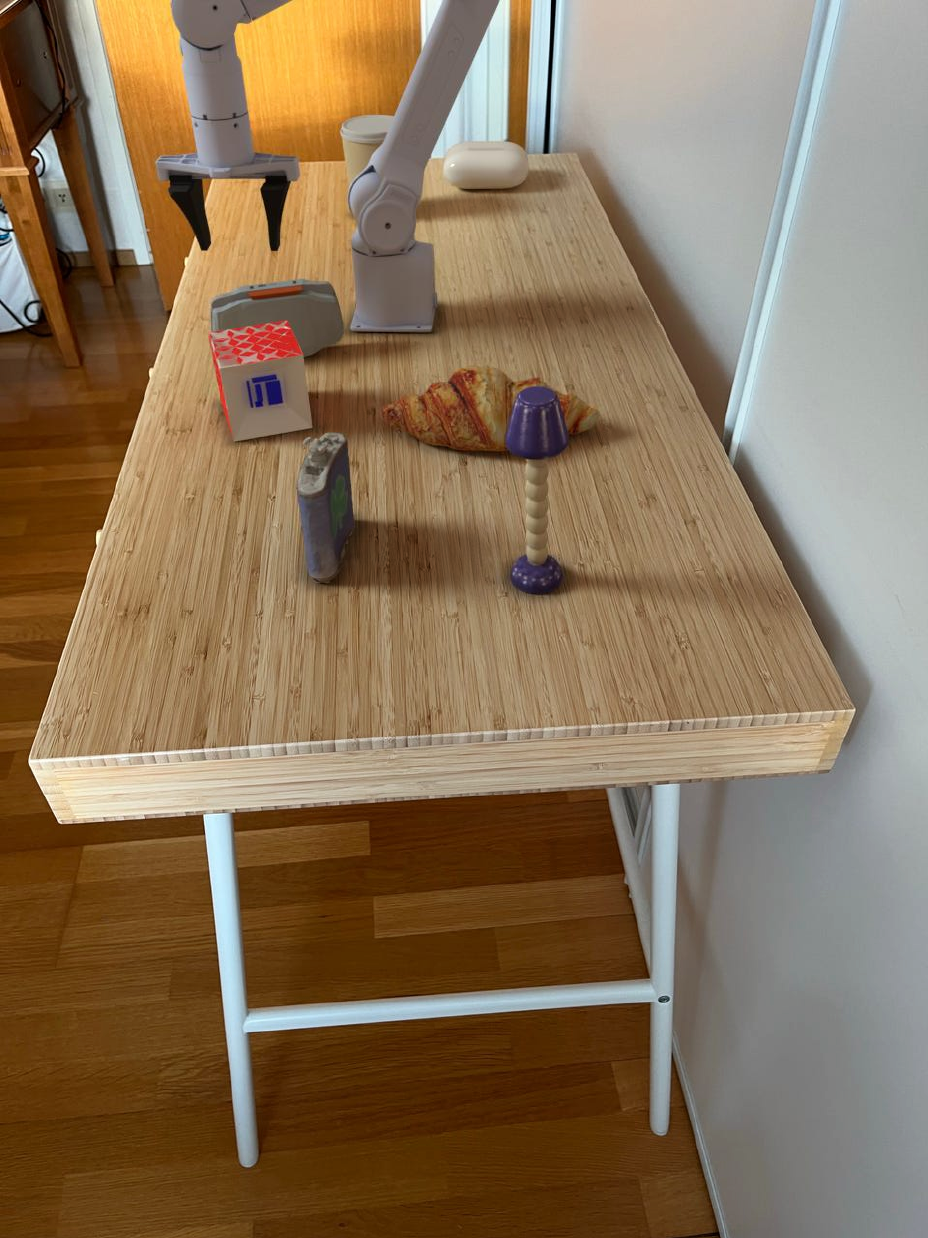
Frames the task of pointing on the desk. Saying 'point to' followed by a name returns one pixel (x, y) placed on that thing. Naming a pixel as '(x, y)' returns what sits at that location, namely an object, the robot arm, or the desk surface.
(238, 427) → the white and red cube
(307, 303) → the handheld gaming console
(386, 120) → the coffee cup
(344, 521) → the flask
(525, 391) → the toy lamp
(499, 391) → the croissant
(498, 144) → the earbud case
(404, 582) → the desk surface
